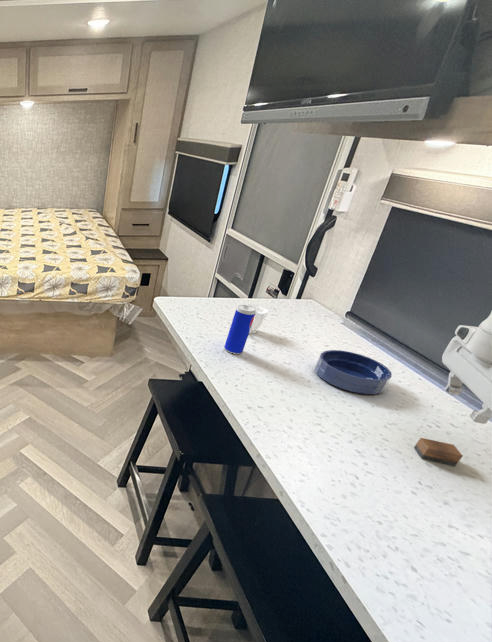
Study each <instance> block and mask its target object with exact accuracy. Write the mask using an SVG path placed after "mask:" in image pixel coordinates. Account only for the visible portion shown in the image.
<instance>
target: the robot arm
mask: <svg viewBox="0 0 492 642" xmlns="http://www.w3.org/2000/svg"><path fill="white" fill-rule="evenodd" d="M454 335H455V336H453V338H451V340H450V342H449V343H448V344H447V346H446V348H445V350H444V351H443V354H442V356H441V362H442V364H443V365H444V366H445V367H446V368H447V369H448V370H449V371H450V372H449V373H448V379H447V385H446V386H445V388H444V391H445V392H446V393H447V394H448V395H451V396H455V397H457V396H460V394H461V393H462V392H463V390H464V389H463V388H462V386H463V385H464V386H465V387H467V388H468V389H469V390H470V392H472V394H474V395H475V397H477V398H478V399H479V400H480V401H481V402H482V405H481V409H480V410H476V409H474V410H472V412H471V414H469V418H470V419H471V420H472V421H473V422H474V423H477V424H481V425H482V424H487V423H488V421H489V420H490V419H491V418H492V311H491V312H490V314H489V315H488V316H487V318H486V319H484V320H483V321H481V322H480V324H479V325H478V326H475V325H474V326H472V325H462V324H459V325H458V326H457V327H456V329H455V330H454Z"/></svg>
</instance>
